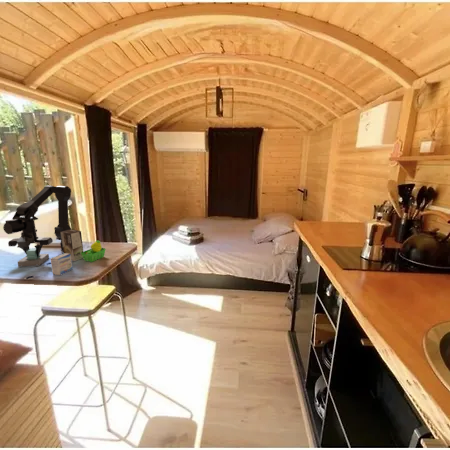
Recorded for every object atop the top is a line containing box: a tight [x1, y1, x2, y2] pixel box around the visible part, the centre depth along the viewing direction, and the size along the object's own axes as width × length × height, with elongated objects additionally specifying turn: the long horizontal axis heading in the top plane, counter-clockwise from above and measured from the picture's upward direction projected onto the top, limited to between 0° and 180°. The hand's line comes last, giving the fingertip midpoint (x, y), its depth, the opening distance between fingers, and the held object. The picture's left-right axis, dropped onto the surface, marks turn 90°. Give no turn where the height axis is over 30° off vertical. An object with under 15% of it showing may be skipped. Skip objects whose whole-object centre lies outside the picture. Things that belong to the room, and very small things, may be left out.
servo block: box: [25, 248, 40, 260], centre depth 137 cm, size 4×7×6 cm, turn 12°
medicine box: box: [50, 252, 73, 276], centre depth 126 cm, size 8×4×9 cm, turn 168°
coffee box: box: [61, 228, 84, 262], centre depth 143 cm, size 9×6×16 cm
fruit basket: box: [81, 240, 107, 263], centre depth 143 cm, size 11×9×11 cm
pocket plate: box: [17, 253, 50, 267], centre depth 138 cm, size 10×11×2 cm
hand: (33, 256), depth 138 cm, fingers closed on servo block, 4 cm apart
